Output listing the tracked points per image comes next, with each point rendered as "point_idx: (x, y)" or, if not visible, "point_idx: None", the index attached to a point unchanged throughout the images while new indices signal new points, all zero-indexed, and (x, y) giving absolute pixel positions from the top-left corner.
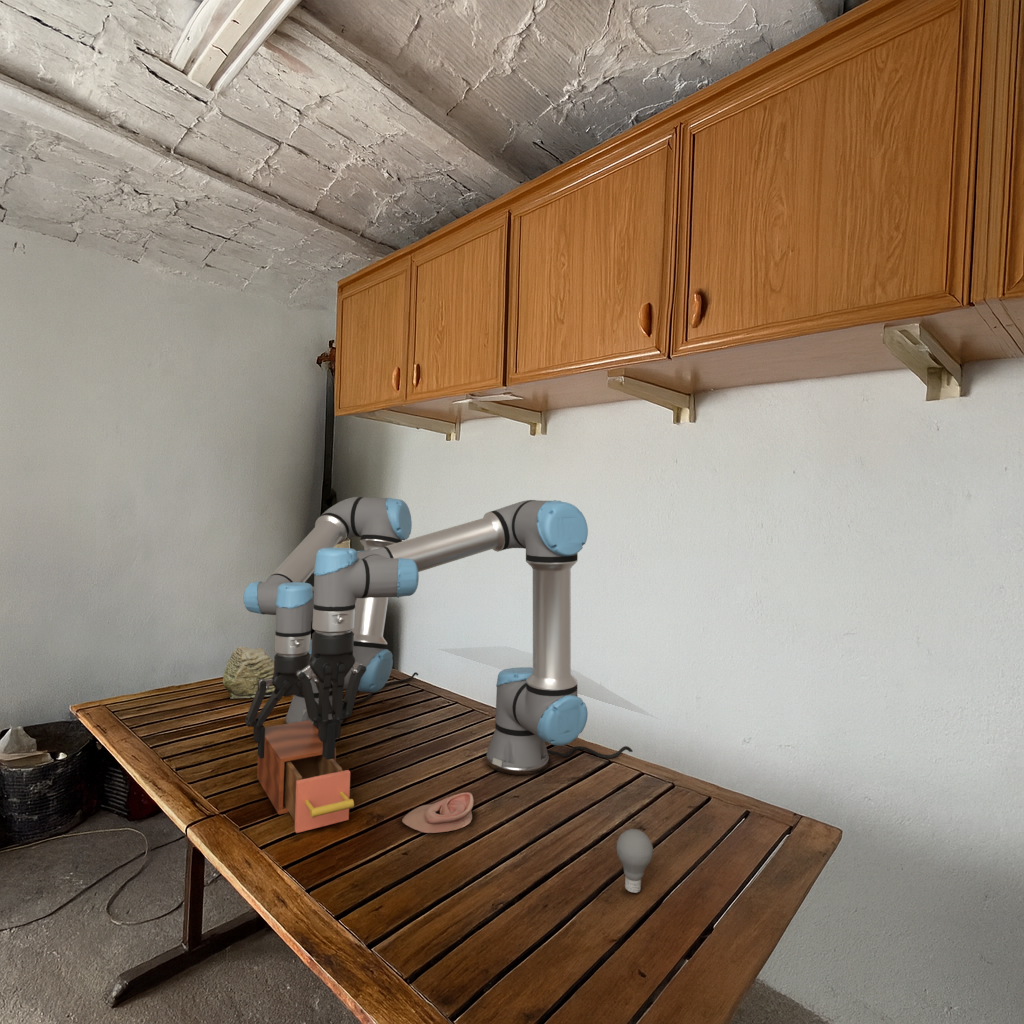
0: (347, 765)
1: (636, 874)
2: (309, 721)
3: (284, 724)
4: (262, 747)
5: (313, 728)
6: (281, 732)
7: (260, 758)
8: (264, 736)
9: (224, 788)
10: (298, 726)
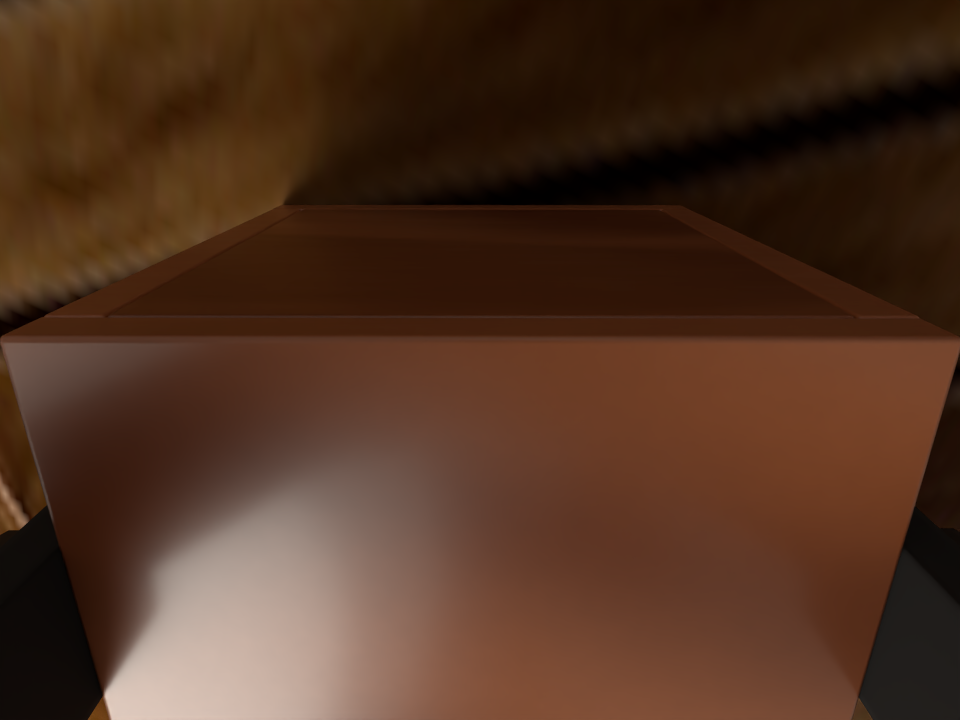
0: (954, 304)
1: None
2: (924, 408)
3: (469, 365)
4: None
5: (806, 705)
6: (345, 661)
7: None
8: (95, 699)
9: (46, 271)
10: (653, 547)
